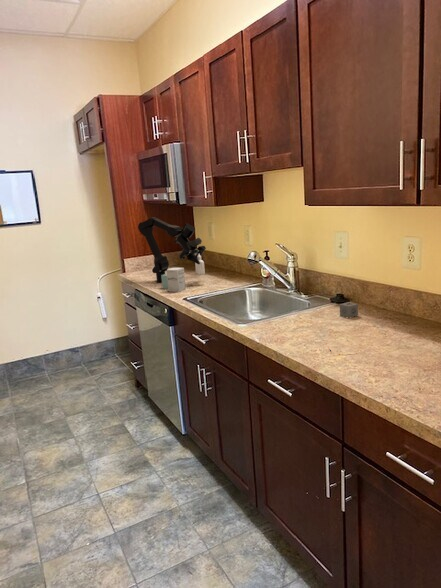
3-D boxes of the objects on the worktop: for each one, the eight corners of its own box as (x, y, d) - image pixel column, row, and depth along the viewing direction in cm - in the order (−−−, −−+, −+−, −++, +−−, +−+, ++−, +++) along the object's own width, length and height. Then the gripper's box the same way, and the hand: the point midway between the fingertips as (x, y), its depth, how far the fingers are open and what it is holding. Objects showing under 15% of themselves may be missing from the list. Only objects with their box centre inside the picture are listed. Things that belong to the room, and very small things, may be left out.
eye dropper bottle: (198, 275, 262) (196, 254, 259) (195, 273, 267) (193, 253, 264) (205, 274, 263) (204, 253, 261) (202, 272, 269) (200, 252, 266)
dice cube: (358, 315, 184) (357, 304, 183) (349, 318, 181) (349, 306, 180) (348, 313, 188) (348, 301, 187) (339, 316, 186) (339, 304, 185)
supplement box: (168, 291, 255) (165, 269, 253) (175, 288, 262) (173, 267, 259) (179, 292, 252) (176, 269, 249) (186, 289, 258) (184, 267, 255)
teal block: (162, 288, 265) (161, 275, 263) (168, 286, 269) (167, 273, 267) (168, 289, 262) (167, 275, 260) (174, 287, 266) (173, 274, 264)
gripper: (181, 236, 255) (198, 256, 251) (202, 231, 269) (218, 251, 265) (172, 249, 261) (188, 269, 258) (193, 244, 276) (208, 263, 272)
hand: (201, 263), depth 263 cm, fingers closed on eye dropper bottle, 3 cm apart
